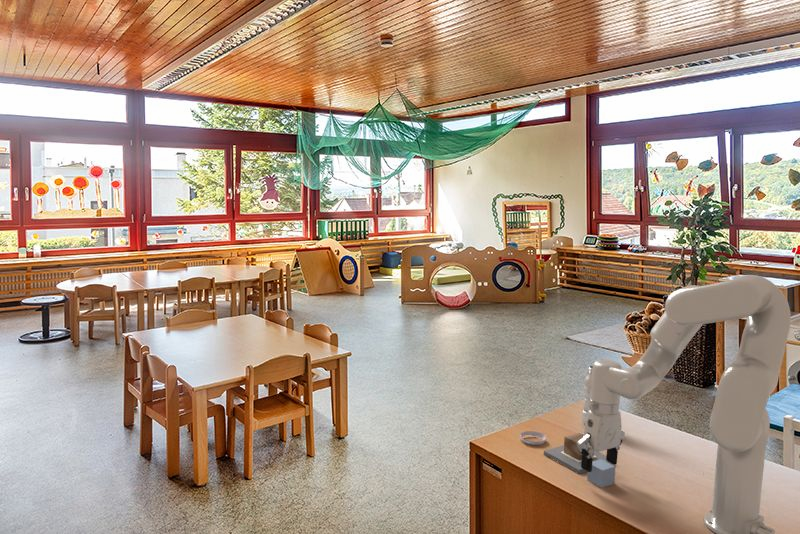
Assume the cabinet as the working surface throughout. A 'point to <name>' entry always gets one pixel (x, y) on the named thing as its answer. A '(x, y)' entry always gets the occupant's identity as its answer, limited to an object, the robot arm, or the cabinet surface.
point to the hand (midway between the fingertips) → (598, 466)
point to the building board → (571, 458)
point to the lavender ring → (533, 435)
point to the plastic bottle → (587, 394)
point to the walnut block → (573, 446)
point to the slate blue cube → (602, 473)
